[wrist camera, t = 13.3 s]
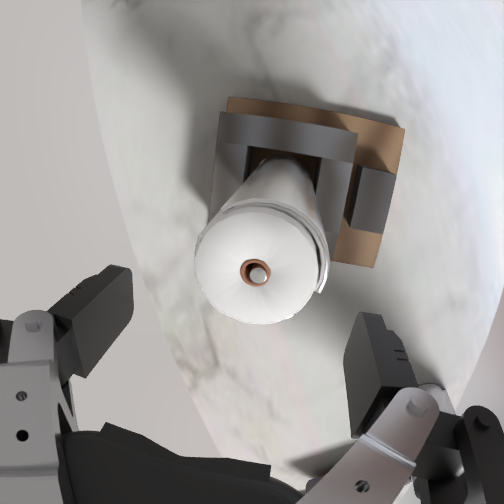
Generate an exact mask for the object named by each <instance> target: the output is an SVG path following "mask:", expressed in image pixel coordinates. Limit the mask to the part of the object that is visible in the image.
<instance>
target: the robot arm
mask: <svg viewBox="0 0 504 504" xmlns="http://www.w3.org/2000/svg"><path fill="white" fill-rule="evenodd" d="M133 309H134V301H133V283H132V272H131V270H130V269H129V268H125V267H120V266H116V265H109V266H108V267H106V268H105V269H104V270H103V271H102V272H100V273H99V274H98V275H94V276H91V277H89V278H86V279H84V280H83V281H82V282H81V283H79V284H78V285H77V286H76V288H73V289H72V290H71V291H70V292H69V294H66V295H65V296H64V297H63V298H61V299H60V300H59V301H58V302H57V303H56V304H54V305H53V306H52V307H51V308H50V309H49V310H48V311H43V310H31V311H27V312H25V313H23V314H21V315H19V316H18V317H17V318H16V319H15V321H9V320H1V319H0V504H392V503H393V502H394V501H395V499H396V498H397V496H398V495H399V493H400V491H401V490H402V488H403V487H404V485H405V484H406V482H407V480H408V479H409V477H410V476H412V480H413V485H414V491H415V494H416V496H417V498H419V499H420V500H421V504H504V433H503V430H502V427H501V425H500V422H499V420H498V418H497V417H496V415H495V414H494V413H493V412H491V411H490V410H489V409H487V408H485V407H482V406H471V407H469V408H468V409H467V410H466V411H465V412H464V414H463V415H462V416H457V415H456V414H455V411H454V408H453V406H452V403H451V401H450V398H449V396H448V393H447V391H446V390H442V389H441V388H440V387H439V386H438V385H435V384H424V385H420V386H418V384H417V381H416V378H415V375H414V373H413V370H412V367H411V364H410V362H409V361H408V356H407V354H406V353H405V348H404V346H403V343H402V341H401V339H400V338H399V337H398V336H397V335H396V334H395V333H394V332H393V331H390V330H387V329H386V326H385V323H384V321H383V318H382V316H381V315H378V314H371V313H365V312H360V313H359V314H358V316H357V318H356V321H355V324H354V326H353V329H352V332H351V335H350V338H349V340H348V343H347V346H346V349H345V353H344V359H343V366H344V374H345V382H346V390H347V399H348V408H349V418H350V428H351V438H356V439H358V440H357V441H356V443H355V444H354V445H353V446H352V447H351V448H350V449H349V450H348V452H347V453H346V454H345V455H344V456H343V457H342V458H341V459H340V460H339V461H338V463H337V464H336V465H335V466H334V467H333V468H332V469H331V470H330V471H329V472H328V473H327V474H326V475H325V476H324V477H323V478H322V479H321V480H320V481H319V482H318V483H317V484H316V485H315V486H314V487H313V488H312V489H311V490H310V491H309V492H308V493H307V494H306V495H305V496H303V495H302V494H301V493H300V492H298V491H297V490H296V489H294V488H293V487H291V486H290V485H288V484H286V483H284V482H282V481H280V480H278V479H275V478H273V477H270V471H271V465H266V464H259V463H253V462H247V461H242V460H236V459H231V458H201V457H182V456H179V455H177V454H175V453H173V452H171V451H169V450H168V449H166V448H164V447H162V446H160V445H159V444H157V443H155V442H153V441H152V440H150V439H148V438H146V437H145V436H143V435H141V434H137V433H135V432H132V431H129V430H126V429H123V428H121V427H118V426H115V425H113V424H110V423H107V422H106V423H105V424H104V426H103V428H102V429H101V431H100V432H99V431H79V429H78V425H77V419H76V414H75V407H74V401H73V394H72V386H71V382H70V377H71V376H72V374H76V375H78V376H81V377H83V378H86V377H87V376H88V374H89V373H90V372H91V371H92V369H93V368H94V367H95V366H96V364H97V363H98V362H99V360H100V359H101V358H102V356H103V355H104V354H105V352H106V351H107V350H108V349H109V347H110V346H111V345H112V343H113V342H114V341H115V340H116V338H117V337H118V336H119V335H120V333H121V332H122V331H123V329H124V328H125V327H126V326H127V324H128V323H129V321H130V320H131V318H132V315H133Z"/></svg>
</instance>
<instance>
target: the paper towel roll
mask: <svg viewBox="0 0 504 504" xmlns="http://www.w3.org/2000/svg"><path fill="white" fill-rule="evenodd" d="M194 262H195V275H196V278H197V281H198V284H199V286H200V289H201V290H202V292H203V294H204V295H205V297H206V299H207V300H208V301H209V302H210V303H211V304H212V305H213V306H214V307H215V308H216V309H217V310H218V311H220V312H222V313H223V314H225V315H227V316H229V317H231V318H233V319H236V320H239V321H241V322H244V323H251V324H270V323H277V322H279V321H283V320H286V319H288V318H291V317H294V316H296V315H297V312H298V311H300V310H301V309H302V308H303V307H304V305H305V304H306V303H307V302H308V300H309V299H310V298H311V296H312V294H313V292H314V291H315V292H317V293H319V294H321V292H322V290H323V288H324V286H325V284H326V282H327V280H328V274H329V267H330V259H329V251H328V245H327V241H326V236H325V232H324V228H323V224H322V220H321V216H320V212H319V208H318V204H317V200H316V196H315V192H314V188H313V184H312V181H311V177H310V173H309V171H308V169H307V167H306V165H305V164H304V163H303V161H302V160H301V159H299V158H298V157H296V156H294V155H291V154H289V153H277V154H273V155H271V156H268V157H267V158H265V159H264V160H263V161H262V162H261V163H260V165H259V166H258V167H257V169H256V170H255V171H254V172H253V173H252V174H251V175H250V176H249V177H248V178H247V180H246V181H245V182H244V183H243V184H242V185H241V186H240V187H239V188H238V190H237V191H236V192H235V193H234V194H233V195H232V196H231V197H230V199H229V200H228V201H227V202H226V203H225V204H224V205H223V207H222V208H221V209H220V211H219V212H218V213H217V214H216V216H215V217H214V218H213V219H212V220H211V221H210V223H209V224H208V225H207V226H206V227H205V228H204V230H203V231H202V232H201V233H200V234H199V236H198V240H197V244H196V248H195V259H194Z"/></svg>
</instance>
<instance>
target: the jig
mask: <svg viewBox="0 0 504 504" xmlns="http://www.w3.org/2000/svg"><path fill="white" fill-rule="evenodd" d="M404 133H405V129H403V128H400V127H396V126H392V125H388V124H385V123H381V122H377V121H373V120H369V119H364V118H360V117H356V116H351V115H347V114H342V113H337V112H332V111H327V110H322V109H316V108H310V107H305V106H298V105H292V104H285V103H278V102H271V101H263V100H255V99H246V98H235V97H228V103H227V111H226V112H220V119H219V127H218V135H217V144H216V153H215V162H214V171H213V181H212V191H211V202H210V212H209V223H210V221H211V220H212V219H213V218H214V217H215V216H216V214H217V213H218V212H219V211H220V209H221V208H222V207H223V205H224V204H225V203H226V202H227V201H228V200H229V199H230V197H231V196H232V195H233V194H234V193H235V192H236V191H237V190H238V188H239V187H240V186H241V185H242V184H243V183H244V182H245V181H246V180H247V178H248V177H249V176H250V175H251V174H252V173H253V172H254V171H255V170H256V169H257V167H258V166H259V165H260V163H261V162H262V161H263V160H264V159H265V158H267V157H268V156H271V155H273V154H277V153H289V154H291V155H294V156H296V157H298V158H299V159H301V160H302V161H303V163H304V164H305V165H306V167H307V169H308V171H309V173H310V177H311V181H312V184H313V188H314V192H315V196H316V200H317V204H318V208H319V212H320V216H321V220H322V224H323V228H324V232H325V236H326V241H327V245H328V251H329V259H330V261H336V262H342V263H347V264H353V265H359V266H364V267H370V268H373V267H374V264H375V260H376V257H377V253H378V250H379V246H380V243H381V239H382V235H383V231H384V227H385V223H386V219H387V215H388V211H389V207H390V203H391V199H392V194H393V190H394V185H395V181H396V176H397V171H398V166H399V161H400V156H401V150H402V145H403V139H404Z"/></svg>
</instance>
